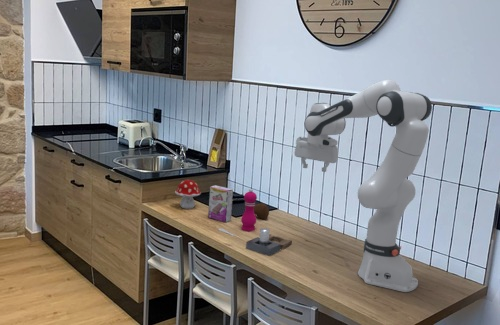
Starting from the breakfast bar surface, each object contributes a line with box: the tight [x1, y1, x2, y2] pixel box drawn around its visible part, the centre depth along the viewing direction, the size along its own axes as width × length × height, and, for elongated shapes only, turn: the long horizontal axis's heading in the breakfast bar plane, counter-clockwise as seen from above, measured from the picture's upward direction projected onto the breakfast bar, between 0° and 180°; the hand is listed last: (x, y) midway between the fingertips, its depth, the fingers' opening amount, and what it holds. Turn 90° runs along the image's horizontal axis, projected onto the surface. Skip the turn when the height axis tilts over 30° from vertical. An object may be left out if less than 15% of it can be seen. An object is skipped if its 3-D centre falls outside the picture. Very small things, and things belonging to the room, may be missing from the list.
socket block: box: [245, 236, 281, 257], centre depth 219 cm, size 12×8×3 cm
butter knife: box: [217, 228, 236, 237], centre depth 233 cm, size 1×24×3 cm
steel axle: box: [259, 227, 270, 246], centre depth 218 cm, size 4×4×9 cm
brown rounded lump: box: [254, 202, 270, 220], centre depth 263 cm, size 7×10×8 cm
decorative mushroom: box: [174, 179, 202, 210], centre depth 272 cm, size 14×14×15 cm
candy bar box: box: [207, 184, 234, 223], centre depth 255 cm, size 11×5×16 cm, turn 58°
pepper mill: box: [240, 188, 258, 232], centre depth 242 cm, size 7×7×20 cm
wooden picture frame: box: [269, 233, 293, 251], centre depth 227 cm, size 12×8×2 cm
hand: (314, 169), depth 229 cm, fingers open, 8 cm apart
